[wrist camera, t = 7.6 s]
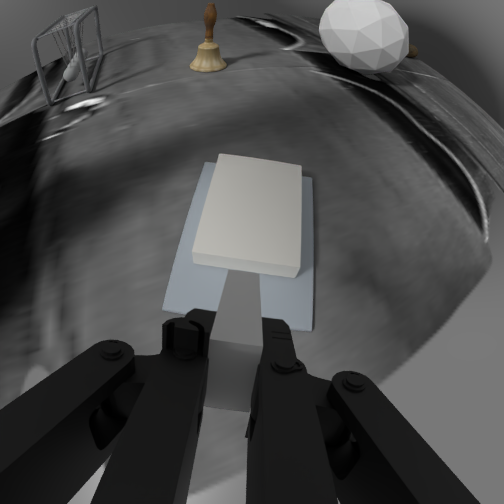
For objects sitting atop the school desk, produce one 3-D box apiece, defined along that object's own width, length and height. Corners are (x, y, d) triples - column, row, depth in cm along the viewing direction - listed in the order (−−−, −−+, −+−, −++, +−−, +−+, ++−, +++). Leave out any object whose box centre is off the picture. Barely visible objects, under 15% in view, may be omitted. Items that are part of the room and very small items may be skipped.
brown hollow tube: (405, 53, 92) (409, 42, 86) (416, 60, 89) (420, 49, 83) (385, 49, 88) (390, 36, 82) (397, 56, 85) (402, 43, 79)
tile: (300, 267, 26) (301, 165, 34) (191, 251, 26) (219, 153, 33) (294, 279, 28) (297, 179, 36) (193, 264, 28) (219, 168, 36)
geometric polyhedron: (329, 92, 69) (287, 19, 51) (355, 52, 73) (322, -10, 54) (411, 95, 53) (379, 4, 35) (422, 52, 57) (396, -20, 39)
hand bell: (192, 60, 56) (193, 1, 42) (227, 60, 57) (232, 1, 43) (186, 72, 52) (186, 6, 38) (225, 73, 52) (230, 6, 39)
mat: (310, 331, 26) (311, 330, 26) (162, 310, 26) (162, 308, 26) (311, 179, 37) (312, 177, 36) (205, 164, 36) (205, 161, 36)
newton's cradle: (71, 64, 57) (62, 15, 42) (103, 54, 60) (97, 3, 45) (48, 110, 43) (28, 41, 28) (91, 95, 46) (77, 22, 31)
